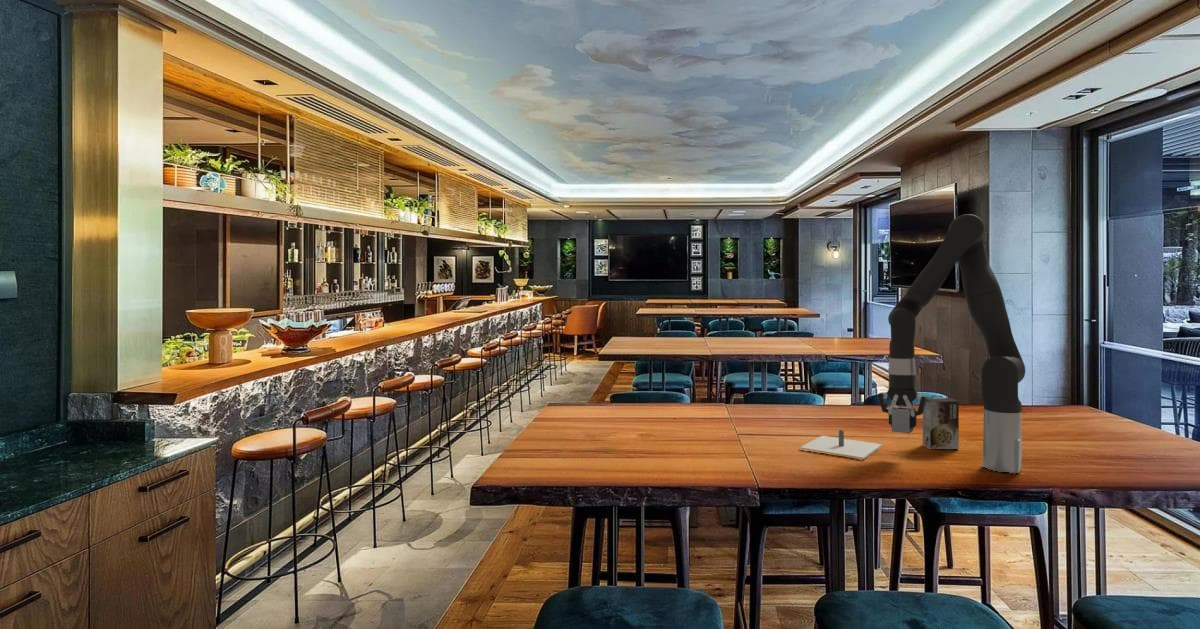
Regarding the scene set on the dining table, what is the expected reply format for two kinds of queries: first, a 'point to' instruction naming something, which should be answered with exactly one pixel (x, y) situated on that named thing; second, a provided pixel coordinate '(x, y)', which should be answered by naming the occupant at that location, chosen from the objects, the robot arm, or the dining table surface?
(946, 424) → the coffee box
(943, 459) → the dining table surface
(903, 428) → the block
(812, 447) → the pin plate
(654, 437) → the dining table surface
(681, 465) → the dining table surface
